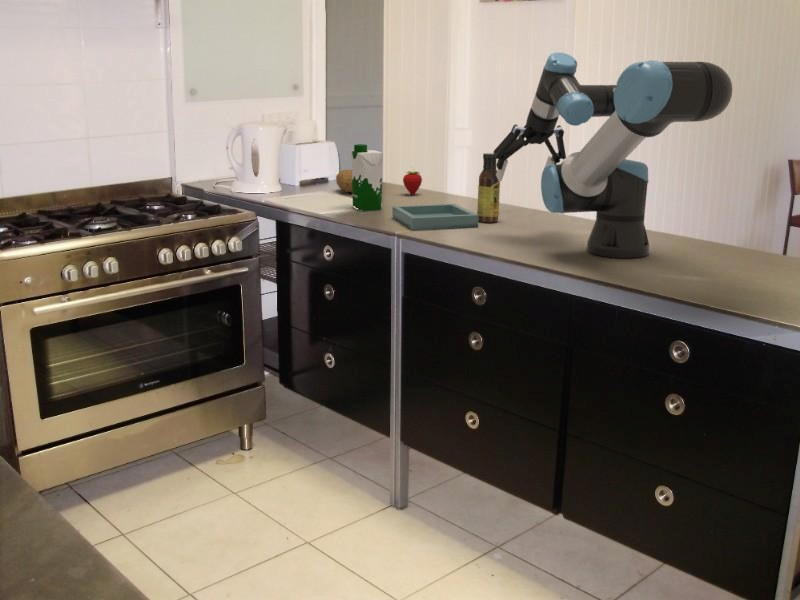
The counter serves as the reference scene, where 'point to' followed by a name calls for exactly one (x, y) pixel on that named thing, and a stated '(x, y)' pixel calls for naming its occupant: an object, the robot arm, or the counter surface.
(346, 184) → the potato
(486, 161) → the sauce bottle
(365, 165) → the milk carton
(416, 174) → the strawberry
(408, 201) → the counter surface
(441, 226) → the tray
